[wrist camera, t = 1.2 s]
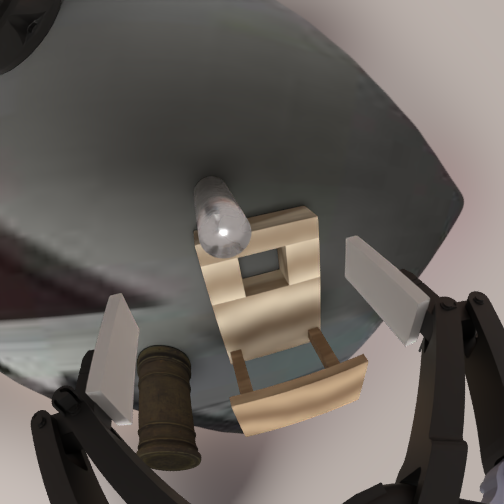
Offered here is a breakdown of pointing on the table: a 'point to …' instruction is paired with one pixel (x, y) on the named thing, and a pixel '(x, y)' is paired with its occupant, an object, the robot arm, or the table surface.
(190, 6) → the table surface
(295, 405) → the socket station
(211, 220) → the peg
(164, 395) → the container
